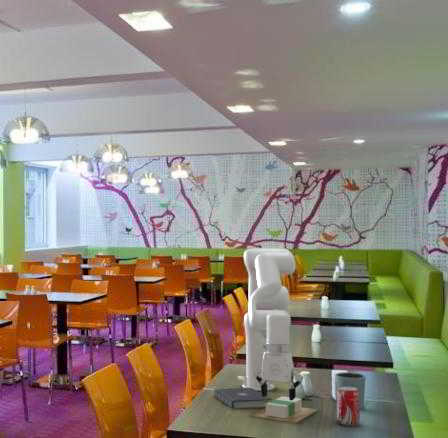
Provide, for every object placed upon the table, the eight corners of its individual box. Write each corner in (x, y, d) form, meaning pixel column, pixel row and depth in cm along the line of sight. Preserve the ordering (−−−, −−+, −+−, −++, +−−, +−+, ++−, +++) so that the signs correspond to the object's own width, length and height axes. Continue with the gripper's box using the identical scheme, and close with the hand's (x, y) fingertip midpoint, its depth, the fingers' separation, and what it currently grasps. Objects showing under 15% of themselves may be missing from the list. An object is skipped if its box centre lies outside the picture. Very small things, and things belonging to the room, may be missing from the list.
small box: (350, 402, 292) (350, 374, 292) (335, 401, 293) (335, 373, 293) (347, 397, 300) (347, 370, 300) (331, 396, 301) (331, 369, 301)
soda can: (333, 421, 263) (333, 386, 263) (353, 421, 263) (353, 385, 264) (342, 427, 256) (342, 390, 256) (363, 426, 256) (363, 390, 257)
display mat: (250, 416, 270) (250, 415, 270) (274, 404, 287) (274, 403, 287) (296, 423, 260) (296, 422, 260) (317, 411, 278) (317, 409, 278)
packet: (265, 415, 269) (265, 403, 269) (282, 407, 282) (282, 396, 282) (285, 418, 265) (285, 406, 265) (301, 410, 277) (301, 398, 277)
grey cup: (365, 405, 286) (364, 373, 286) (366, 412, 276) (366, 378, 276) (335, 403, 289) (335, 371, 289) (336, 410, 279) (336, 376, 279)
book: (214, 396, 301) (213, 389, 301) (251, 395, 302) (251, 387, 302) (232, 409, 279) (232, 400, 280) (272, 407, 281) (271, 399, 281)
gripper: (249, 347, 271) (250, 396, 271) (298, 352, 260) (299, 403, 260) (258, 345, 277) (258, 393, 277) (306, 349, 266) (306, 399, 266)
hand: (278, 398), depth 268 cm, fingers open, 9 cm apart
